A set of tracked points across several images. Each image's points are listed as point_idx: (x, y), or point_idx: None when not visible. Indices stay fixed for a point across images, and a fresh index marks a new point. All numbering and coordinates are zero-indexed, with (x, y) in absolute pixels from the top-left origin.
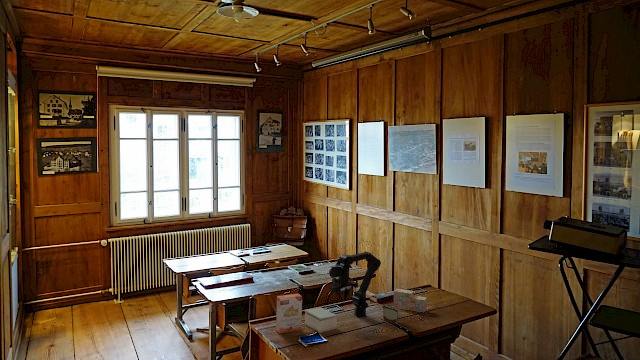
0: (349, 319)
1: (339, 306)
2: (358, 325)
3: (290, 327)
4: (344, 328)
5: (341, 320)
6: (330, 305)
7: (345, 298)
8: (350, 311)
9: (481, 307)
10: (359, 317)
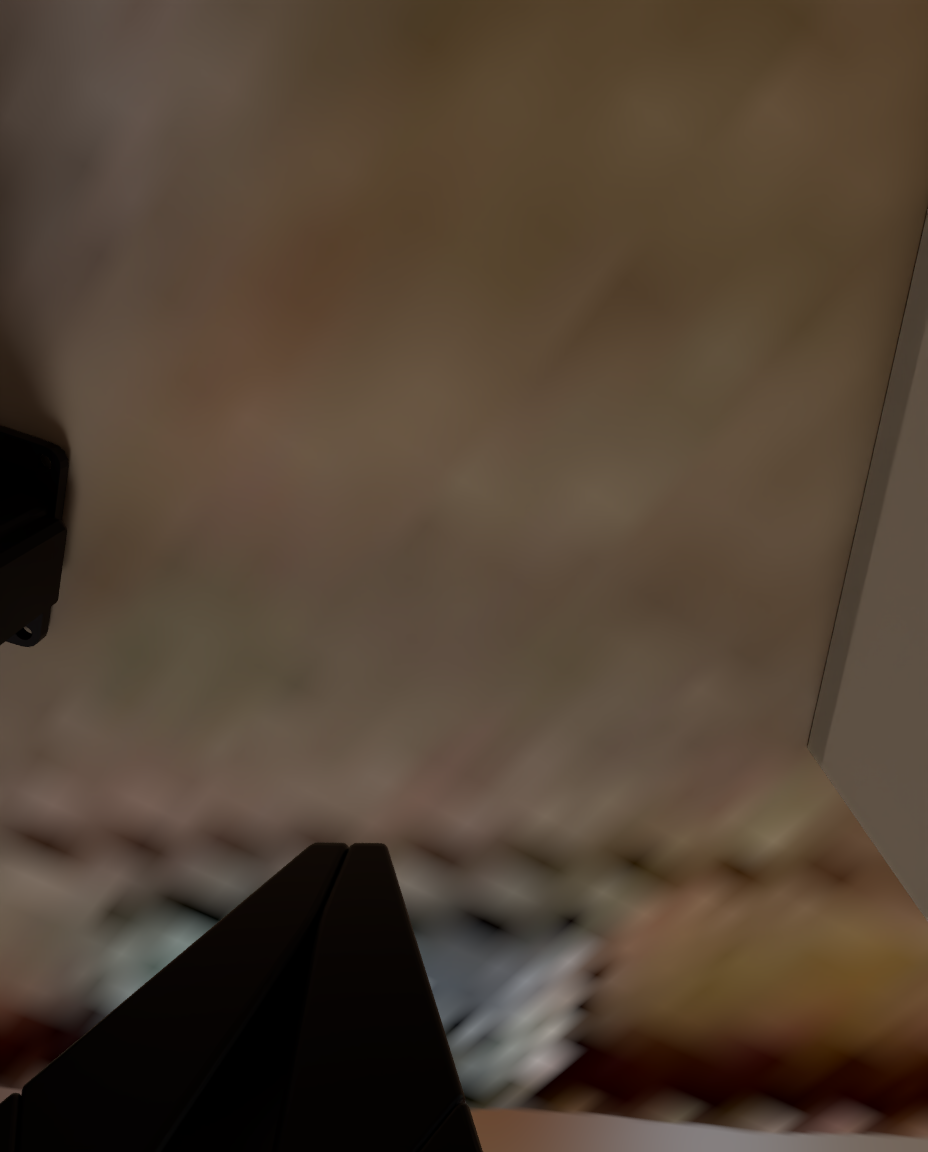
0: (287, 482)
1: None
2: (309, 12)
3: None
4: (768, 60)
5: (476, 530)
6: None
7: (288, 897)
8: (42, 784)
9: None
10: (19, 434)
